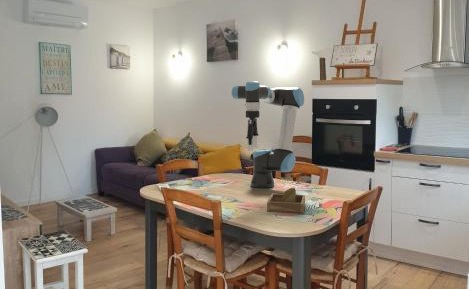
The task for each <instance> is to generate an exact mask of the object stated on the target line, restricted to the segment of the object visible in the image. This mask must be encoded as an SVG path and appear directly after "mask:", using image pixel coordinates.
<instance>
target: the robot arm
mask: <svg viewBox="0 0 469 289" xmlns="http://www.w3.org/2000/svg"><path fill="white" fill-rule="evenodd" d="M304 94H305V93H304V92H303V90H302V88H301V87H295V86H294V87H274V88H270V87H269V86H267V85H264V84H263V85H260V82H259V81H247V82H245V85H235V86H232V89H231V96H232V98H233V99H235V100H245V104H244V106H245V110H246V111H245V118H249V119H248V120H247V135H246V139H247V151H248V152H249V151H250V152H252V151H254V152H253V158H252V160H253V168H252V169H253V175H252V177H251V180H250V187H253V188H257V189H267V188H269V189H270V188H273V187H275V179H274V178H273V174H272V173H273V172H282V173H289V172H291V171H292V170H293V169H294V167H295V165H296V160H297V159H296V154H295V153H294V151H293V149H292V146H293V145H292V144H293V138H294V132H295V124H296V118H297V113H298V112H299V111H300V107H302V106H304V103H305V95H304ZM260 102H263V103H265V104H268V105H274V106H278V107H279V106H280V108H281V109H282V114H281V115H282V116H281V121H280V122H281V123H280V128H279V134H278V135H279V136H278V141H277V147H274V151H273V150H272V149H270V148H266V149H260V150H254V148H258V136H259V131H258V123H257V121H258V119H257V118H260V105H261V104H260ZM272 171H273V172H272Z"/></svg>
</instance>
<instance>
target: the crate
mask: <svg viewBox="0 0 469 289" xmlns="http://www.w3.org/2000/svg"><path fill="white" fill-rule="evenodd" d="M283 195H284V193H271V194H270V196H269V198H268V199H267V201H266V212H269V213H286V214H287V213H288V214H304V211H305V207H306V194H296V197H295V201H296V203H293V202H280V200H281V198H282V197H283Z"/></svg>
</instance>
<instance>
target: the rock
mask: <svg viewBox="0 0 469 289" xmlns="http://www.w3.org/2000/svg"><path fill="white" fill-rule="evenodd" d="M283 194H284V195H283V197H282V198H281V200H280V202H293V203H296V201H295V197H296V195H297V193H296V188H295V187H290V188H288V189H287V190H285V191H284V193H283Z"/></svg>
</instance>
